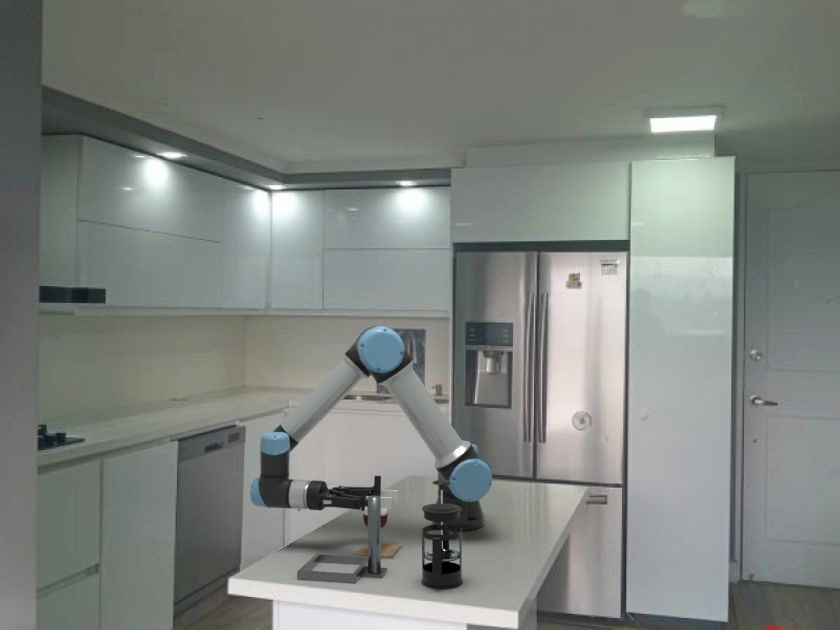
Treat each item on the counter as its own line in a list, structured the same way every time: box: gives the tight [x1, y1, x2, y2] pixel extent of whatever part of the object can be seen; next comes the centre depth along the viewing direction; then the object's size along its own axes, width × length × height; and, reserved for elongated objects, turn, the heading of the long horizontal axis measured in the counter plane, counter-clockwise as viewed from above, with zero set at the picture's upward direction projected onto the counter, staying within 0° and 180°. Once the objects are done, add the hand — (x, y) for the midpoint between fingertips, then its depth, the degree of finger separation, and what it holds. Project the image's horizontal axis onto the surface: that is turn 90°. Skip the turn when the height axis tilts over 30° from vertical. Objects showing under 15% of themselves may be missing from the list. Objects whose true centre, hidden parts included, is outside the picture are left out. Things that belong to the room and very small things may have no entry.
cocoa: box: [362, 475, 389, 529], centre depth 202 cm, size 10×6×12 cm, turn 155°
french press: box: [420, 479, 464, 590], centre depth 179 cm, size 12×9×23 cm
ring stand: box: [296, 496, 388, 584], centre depth 187 cm, size 19×14×18 cm
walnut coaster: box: [353, 542, 403, 559], centre depth 203 cm, size 10×10×1 cm
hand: (394, 499), depth 202 cm, fingers closed on cocoa, 7 cm apart
